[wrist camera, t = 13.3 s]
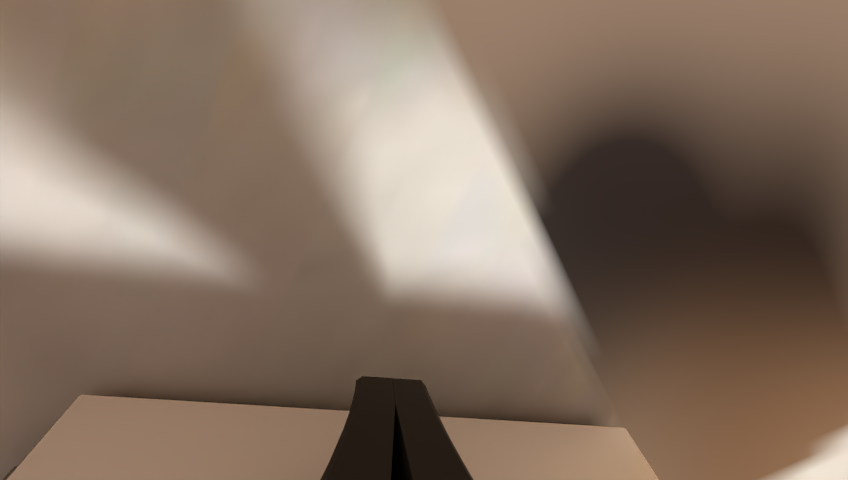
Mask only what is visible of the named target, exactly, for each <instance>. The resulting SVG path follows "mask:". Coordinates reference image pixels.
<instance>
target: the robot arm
mask: <svg viewBox="0 0 848 480" xmlns="http://www.w3.org/2000/svg"><path fill="white" fill-rule="evenodd" d="M320 480H473V478H472V476H471V475H470V473H469V471H468V469H467V468H466V466H465V464H464V462H463V461H462V459H461V457H460V455H459V454H458V452H457V450H456V448H455V447H454V445H453V443H452V441H451V439H450V437H449V435H448V433H447V431H446V429H445V427H444V425H443V423H442V421H441V419H440V418H439V415H438V413H437V411H436V409H435V407H434V405H433V403H432V400H431V398H430V396H429V394H428V391H427V389H426V386H425V385H424V383H423V382H422V381H421V380H408V379H393V378H379V377H364V376H362V377H361V378H359V379H358V380H356V387H355V394H354V398H353V402H352V405H351V409H350V412H349V415H348V417H347V420H346V423H345V426H344V428H343V431H342V433H341V435H340V438H339V440H338V443H337V445H336V447H335V450H334V452H333V454H332V457H331V459H330V461H329V463H328V465H327V467H326V469H325V471H324V473H323V475H322V477H321V479H320Z"/></svg>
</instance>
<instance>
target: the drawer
mask: <svg viewBox="0 0 848 480" xmlns="http://www.w3.org/2000/svg"><path fill="white" fill-rule="evenodd" d="M349 412H350V411H342V410H325V409H309V408H292V407H276V406H260V405H243V404H227V403H210V402H194V401H177V400H161V399H145V398H128V397H112V396H95V395H79V396H78V398H77V399H76V400H75V401H74V402H73V403H72V405H71V406H70V407H69V408H68V409H67V410H66V411H65V413H64V414H63V415H62V416H61V417H60V418H59V420H58V421H57V422H56V423H55V424H54V425H53V427H52V428H51V429H50V430H49V431H48V432H47V433H46V435H45V436H44V437H43V438H42V439H41V440H40V442H39V443H38V444H37V445H36V446H35V447H34V449H33V450H32V451H31V452H30V453H29V454H28V455H27V457H26V458H25V459H24V460H23V461H22V462H21V464H20V465H19V466H18V467H17V468H16V469H15V471H14V472H13V473H12V474H11V475H10V476H9V477H8V479H7V480H320V479H321V477H322V475H323V473H324V471H325V469H326V467H327V465H328V463H329V461H330V459H331V457H332V454H333V452H334V450H335V447H336V445H337V443H338V440H339V438H340V435H341V433H342V431H343V428H344V426H345V423H346V420H347V417H348V415H349ZM439 418H440V419H441V421H442V423H443V425H444V427H445V429H446V431H447V433H448V435H449V437H450V439H451V441H452V443H453V445H454V447H455V448H456V450H457V452H458V454H459V455H460V457H461V459H462V461H463V462H464V464H465V466H466V468H467V469H468V471H469V473H470V475H471V476H472V478H473V480H659V479H658V478H657V476H656V475H655V473H654V472H653V470H652V468H651V467H650V465H649V464H648V462H647V461H646V459H645V458H644V456H643V455H642V453H641V452H640V450H639V449H638V447H637V445H636V444H635V442H634V441H633V439H632V438H631V436H630V435H629V433H628V432H627V430H626V429H625V428H621V427H605V426H588V425H572V424H555V423H539V422H522V421H506V420H490V419H473V418H457V417H440V416H439Z"/></svg>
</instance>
